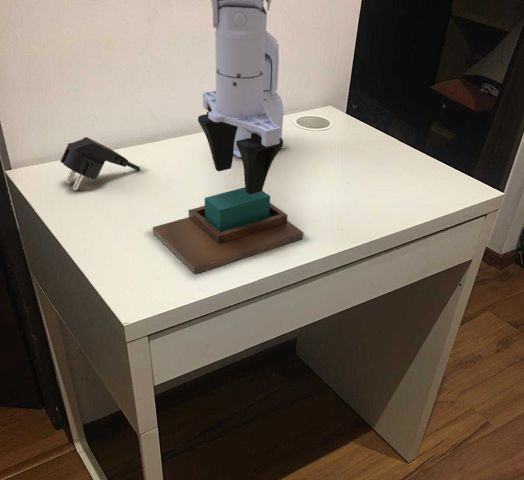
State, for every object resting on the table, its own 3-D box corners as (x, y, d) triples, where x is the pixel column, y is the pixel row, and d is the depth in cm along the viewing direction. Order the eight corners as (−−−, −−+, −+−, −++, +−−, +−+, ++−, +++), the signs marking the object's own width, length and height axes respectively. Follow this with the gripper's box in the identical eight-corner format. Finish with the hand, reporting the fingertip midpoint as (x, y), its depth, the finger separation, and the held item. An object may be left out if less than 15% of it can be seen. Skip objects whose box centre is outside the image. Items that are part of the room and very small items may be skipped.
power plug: (149, 170, 92) (83, 139, 83) (128, 213, 94) (61, 187, 85) (132, 158, 95) (67, 126, 86) (112, 199, 97) (47, 172, 88)
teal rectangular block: (253, 207, 84) (254, 184, 82) (269, 219, 81) (270, 196, 79) (205, 221, 80) (204, 197, 78) (220, 233, 78) (219, 210, 76)
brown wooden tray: (256, 204, 87) (256, 190, 85) (303, 238, 80) (304, 224, 78) (152, 233, 79) (151, 219, 78) (194, 274, 72) (193, 259, 71)
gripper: (180, 58, 71) (185, 165, 80) (245, 94, 62) (242, 210, 71) (229, 51, 74) (229, 155, 83) (298, 85, 65) (289, 196, 74)
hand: (238, 180), depth 77 cm, fingers open, 7 cm apart
